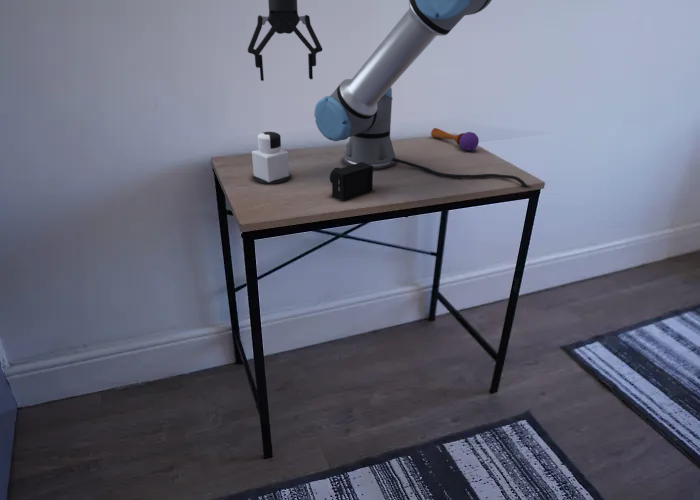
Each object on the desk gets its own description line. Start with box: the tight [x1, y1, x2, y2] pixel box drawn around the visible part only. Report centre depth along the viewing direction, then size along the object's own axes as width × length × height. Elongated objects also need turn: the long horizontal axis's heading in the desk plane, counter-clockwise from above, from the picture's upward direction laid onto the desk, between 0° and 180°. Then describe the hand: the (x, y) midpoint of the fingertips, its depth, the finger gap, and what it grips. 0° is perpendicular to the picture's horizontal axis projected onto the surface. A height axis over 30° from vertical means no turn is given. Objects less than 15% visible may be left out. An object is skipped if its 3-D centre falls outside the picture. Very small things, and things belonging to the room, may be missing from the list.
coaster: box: [253, 174, 291, 185], centre depth 145 cm, size 10×10×1 cm
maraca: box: [430, 127, 480, 152], centre depth 173 cm, size 6×6×20 cm
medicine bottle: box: [251, 131, 290, 182], centre depth 142 cm, size 7×7×12 cm
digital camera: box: [329, 162, 374, 202], centre depth 134 cm, size 10×5×7 cm, turn 133°
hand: (286, 79), depth 147 cm, fingers open, 13 cm apart
